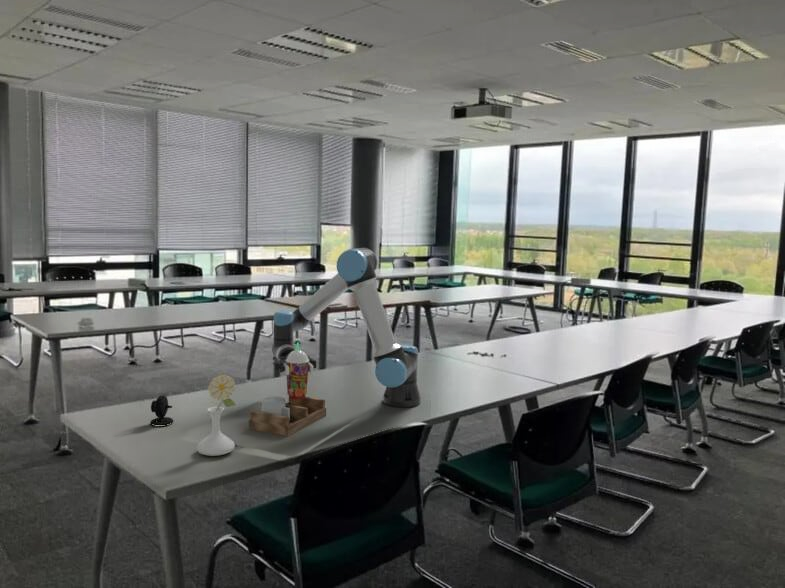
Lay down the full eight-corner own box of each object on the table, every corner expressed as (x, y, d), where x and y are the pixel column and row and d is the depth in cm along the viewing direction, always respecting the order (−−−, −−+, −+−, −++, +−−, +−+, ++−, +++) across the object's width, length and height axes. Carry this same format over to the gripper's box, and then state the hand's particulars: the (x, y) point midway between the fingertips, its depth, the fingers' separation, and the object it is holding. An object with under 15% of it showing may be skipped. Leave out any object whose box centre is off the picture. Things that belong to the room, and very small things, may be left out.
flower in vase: (188, 455, 190) (187, 375, 187) (212, 443, 200) (211, 367, 197) (224, 462, 185) (224, 380, 182) (246, 449, 196) (246, 371, 193)
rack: (326, 419, 226) (326, 399, 225) (288, 440, 204) (288, 418, 203) (289, 413, 233) (289, 393, 232) (248, 432, 211) (248, 411, 210)
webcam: (155, 419, 222) (155, 392, 221) (176, 420, 222) (176, 393, 220) (146, 427, 214) (145, 398, 213) (168, 427, 214) (167, 399, 213)
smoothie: (289, 401, 217) (290, 345, 215) (282, 395, 224) (282, 340, 222) (312, 399, 221) (313, 343, 218) (304, 393, 228) (305, 339, 226)
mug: (256, 426, 212) (256, 401, 211) (270, 420, 220) (270, 395, 218) (282, 431, 208) (282, 405, 207) (295, 424, 215) (295, 399, 214)
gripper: (314, 364, 242) (328, 379, 221) (260, 367, 235) (270, 382, 214) (314, 345, 241) (329, 358, 220) (260, 347, 234) (270, 361, 213)
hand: (300, 370), depth 217 cm, fingers closed on smoothie, 8 cm apart
